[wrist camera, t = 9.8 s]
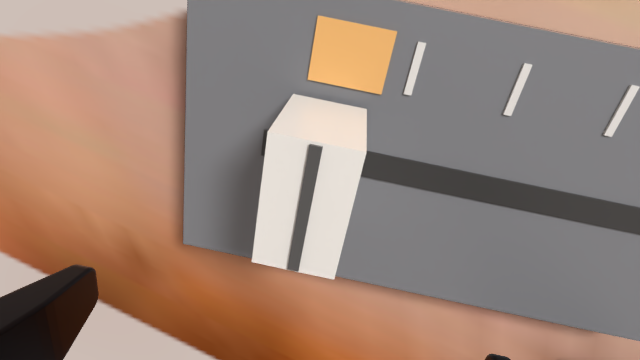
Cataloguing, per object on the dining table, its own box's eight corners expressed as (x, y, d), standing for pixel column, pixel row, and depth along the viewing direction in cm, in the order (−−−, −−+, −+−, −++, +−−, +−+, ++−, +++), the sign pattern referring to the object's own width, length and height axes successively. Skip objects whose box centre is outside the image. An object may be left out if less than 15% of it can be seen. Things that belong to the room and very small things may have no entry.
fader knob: (341, 213, 18) (333, 281, 14) (277, 199, 18) (250, 263, 14) (366, 108, 16) (366, 153, 11) (293, 93, 16) (266, 132, 12)
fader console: (634, 309, 22) (665, 348, 20) (201, 217, 22) (182, 244, 20) (806, 81, 16) (881, 98, 14) (212, -39, 16) (187, -42, 14)
